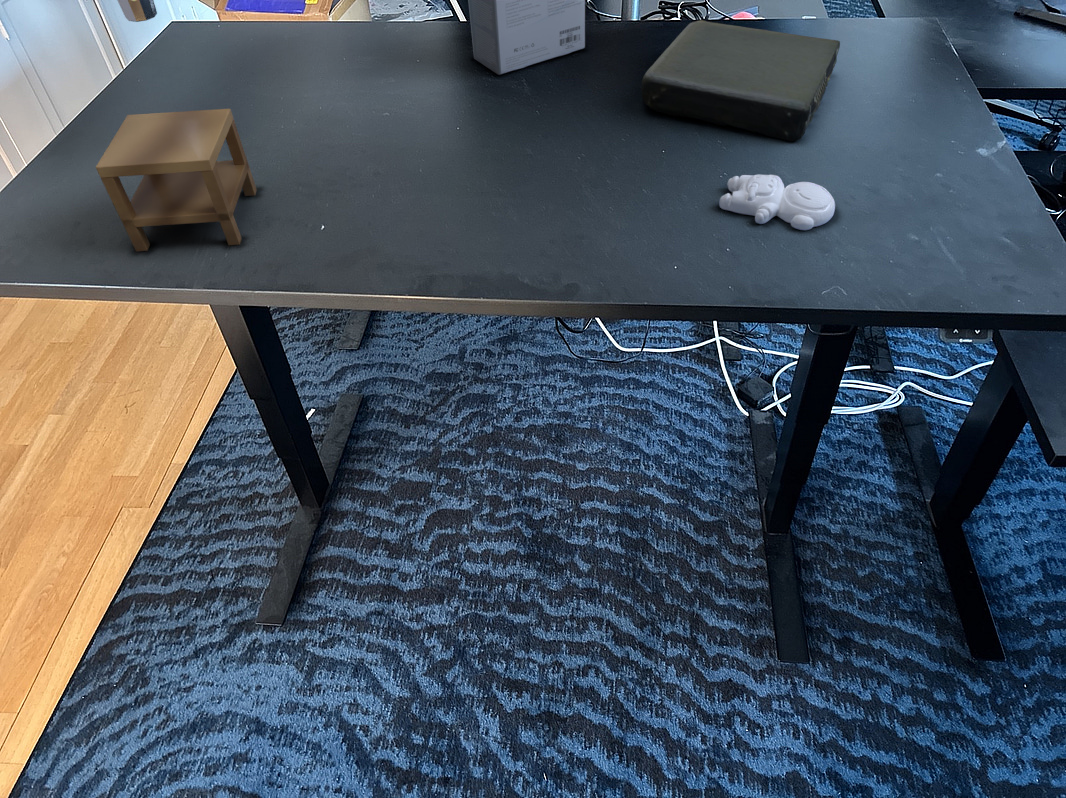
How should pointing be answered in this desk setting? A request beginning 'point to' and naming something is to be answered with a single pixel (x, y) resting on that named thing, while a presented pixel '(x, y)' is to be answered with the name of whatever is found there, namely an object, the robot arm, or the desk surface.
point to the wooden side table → (177, 171)
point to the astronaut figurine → (779, 200)
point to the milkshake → (138, 9)
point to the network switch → (742, 78)
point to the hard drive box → (525, 31)
